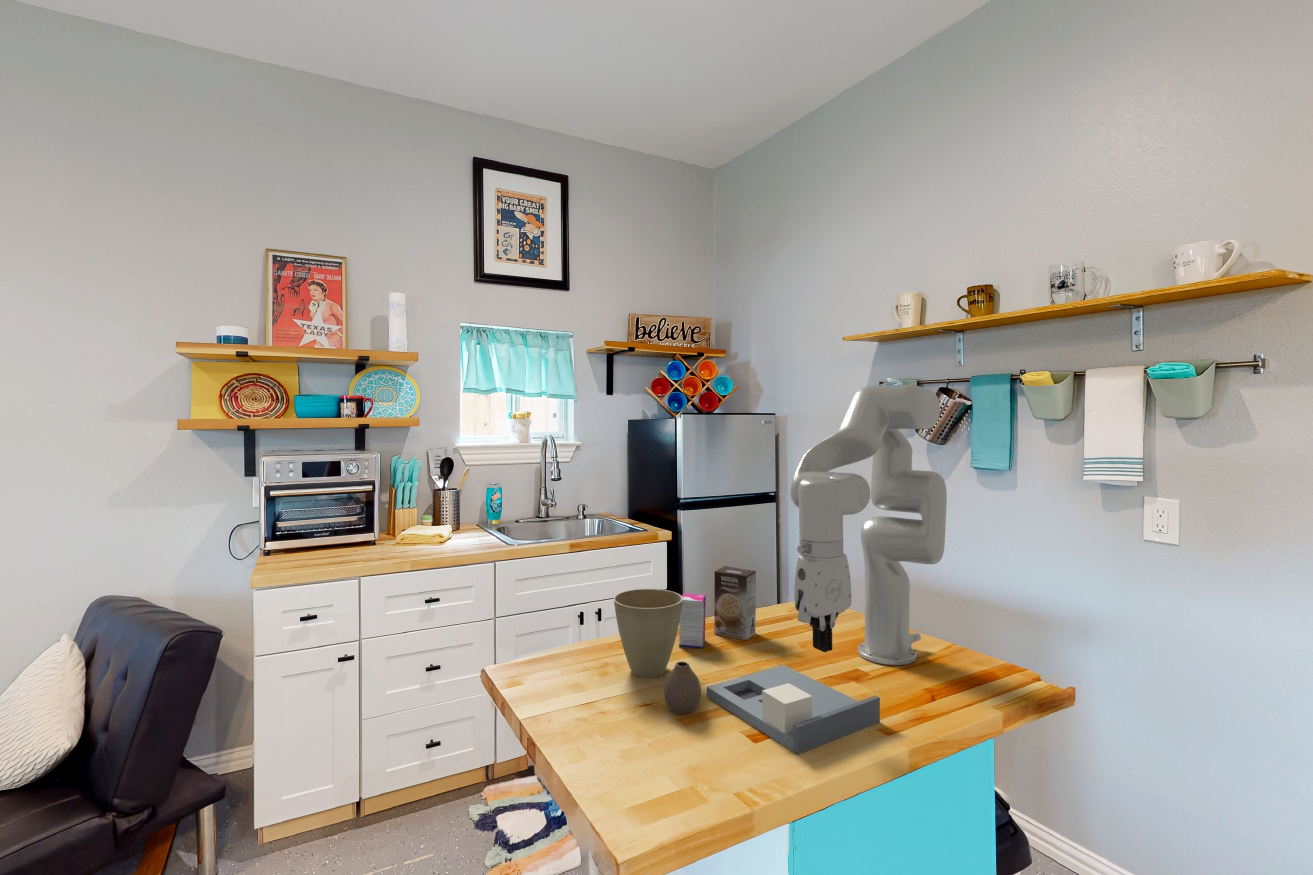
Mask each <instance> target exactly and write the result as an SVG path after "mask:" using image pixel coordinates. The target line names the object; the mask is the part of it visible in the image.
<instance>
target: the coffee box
mask: <svg viewBox="0 0 1313 875" xmlns="http://www.w3.org/2000/svg"><path fill="white" fill-rule="evenodd" d="M756 589H757V570H753V569H746V568H740V567H739V568H738V567H733V566H726V565H725V566H724V565H723V566H722V567H720V568H717V570H715V571H714V592H713V593H714V598H713V600H714V602H713V603H714V605H713V607H714V608H713V609H714V611H713V612H714V613H713V614H714V616H713V617H714V624H713V626H714V628H713V630H714V631H713V634H715V635H720V636H724V637H730V638H734V639H740V640H741V641H742V640H743V641H747V640H748V639H749V638H751V637H752V636H753V635H755V634H756V623H757V622H756V619H757V618H756V617H757V616H756V613H757V611H756V609H757V608H756V605H757V604H756V603H757V600H756V599H757V595H756V594H757V591H756Z"/></svg>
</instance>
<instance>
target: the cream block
mask: <svg viewBox="0 0 1313 875" xmlns="http://www.w3.org/2000/svg"><path fill="white" fill-rule="evenodd" d="M811 718H812V696H811V695H809V694H808V693H806V692H804V691H802V690H800V689H799V688H797V687H795V686H793V685H791V684H789V683H787V684H784V685H780V686H776V687H773V688H769V689H766V690H762V719H764V720H765V721H767V722H768V723H770V724H771V725H773V726H774V727H776V728H777V729H779V730H780V731H782V732H783V733H788V732H791V731H793V725H794V724H797V723H800V722H802V721H805V720H808V719H811Z"/></svg>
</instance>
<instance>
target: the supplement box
mask: <svg viewBox="0 0 1313 875" xmlns="http://www.w3.org/2000/svg"><path fill="white" fill-rule="evenodd" d="M681 596H682V598H683V601H682V609H681V615H680V621H679V626H678V631H679V632H678V633H679V634H678V648H687V649H689V648H690V649H703V647H704V643H705V642H706V604H707V603H706V602H707V601H706V600H707V599H706V596H707V595H706V594H694V593H683V594H682V595H681Z"/></svg>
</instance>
